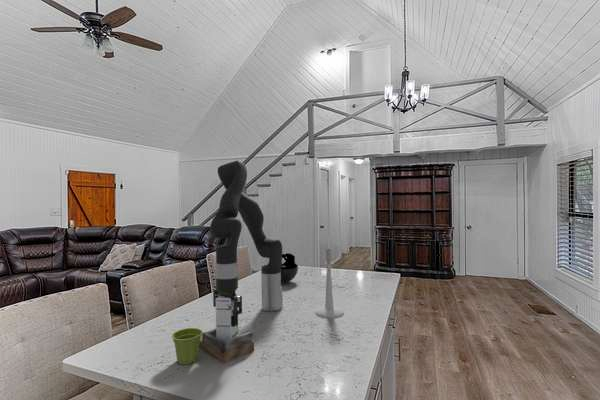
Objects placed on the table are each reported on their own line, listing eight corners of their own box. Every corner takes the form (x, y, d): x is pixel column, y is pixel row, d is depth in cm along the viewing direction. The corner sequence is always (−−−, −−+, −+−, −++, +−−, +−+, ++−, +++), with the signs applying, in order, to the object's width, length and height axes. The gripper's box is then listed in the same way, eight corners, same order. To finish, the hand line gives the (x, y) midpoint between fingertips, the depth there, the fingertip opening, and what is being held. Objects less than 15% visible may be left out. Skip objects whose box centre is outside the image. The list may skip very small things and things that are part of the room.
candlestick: (347, 310, 147) (346, 246, 148) (338, 319, 136) (337, 250, 136) (321, 307, 153) (320, 244, 153) (311, 315, 141) (310, 248, 141)
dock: (221, 334, 122) (221, 318, 122) (254, 350, 108) (253, 332, 109) (192, 344, 113) (192, 328, 113) (224, 363, 100) (223, 344, 100)
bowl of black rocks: (297, 286, 190) (297, 255, 190) (264, 287, 190) (264, 255, 190) (298, 278, 210) (298, 250, 210) (268, 279, 210) (268, 250, 210)
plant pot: (176, 354, 107) (176, 328, 107) (205, 352, 107) (205, 327, 107) (167, 368, 97) (167, 340, 97) (198, 366, 98) (198, 338, 98)
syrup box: (231, 341, 106) (231, 298, 106) (215, 340, 107) (215, 297, 107) (238, 334, 111) (238, 293, 111) (223, 333, 112) (222, 292, 112)
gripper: (248, 276, 107) (248, 325, 107) (224, 270, 117) (224, 315, 117) (229, 281, 102) (230, 332, 101) (206, 274, 111) (206, 321, 111)
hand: (227, 322), depth 109 cm, fingers closed on syrup box, 7 cm apart
